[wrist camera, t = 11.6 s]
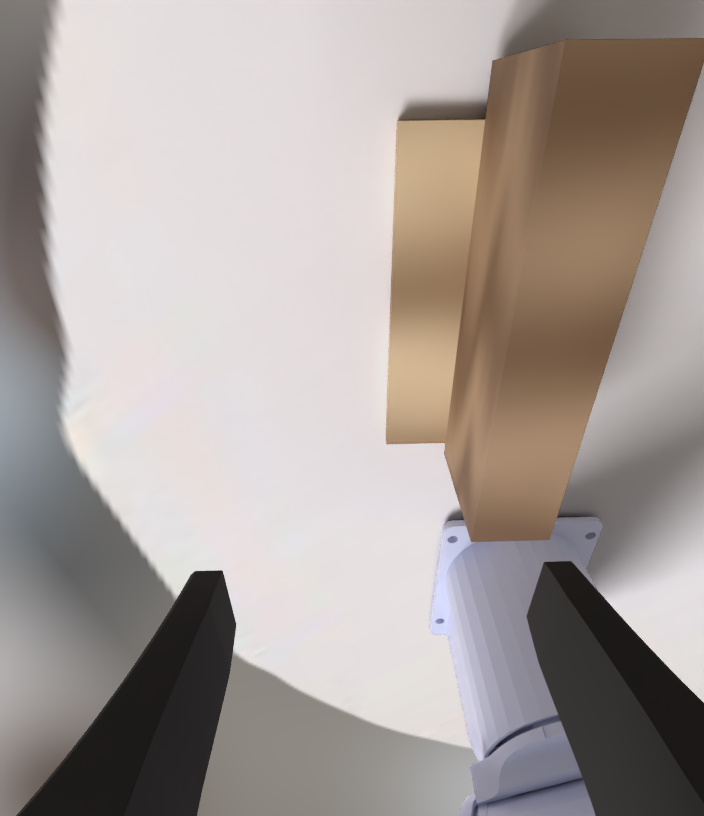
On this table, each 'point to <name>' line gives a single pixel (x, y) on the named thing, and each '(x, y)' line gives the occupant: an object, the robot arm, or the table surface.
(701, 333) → the table surface
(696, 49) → the brown wooden block
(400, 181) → the mat
